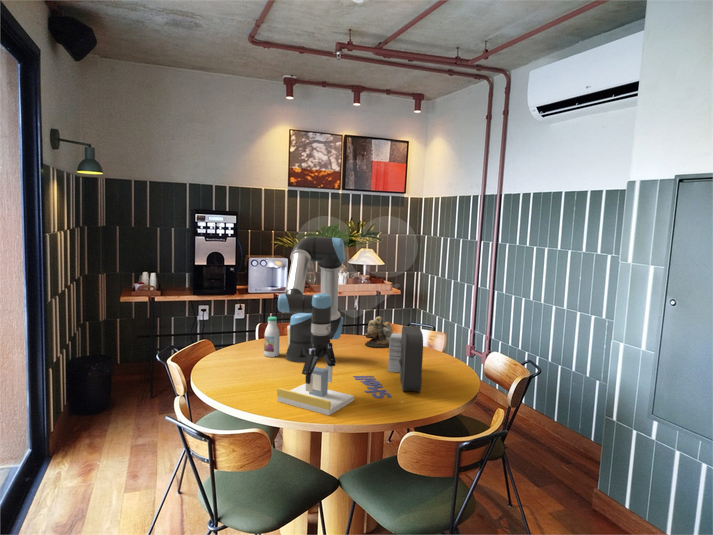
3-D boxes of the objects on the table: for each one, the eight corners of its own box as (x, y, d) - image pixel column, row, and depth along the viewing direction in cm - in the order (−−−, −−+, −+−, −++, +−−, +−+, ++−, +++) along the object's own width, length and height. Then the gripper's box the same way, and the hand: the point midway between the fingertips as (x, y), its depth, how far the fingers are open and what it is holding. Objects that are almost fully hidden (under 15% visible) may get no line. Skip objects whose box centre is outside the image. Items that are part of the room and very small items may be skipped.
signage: (393, 396, 197) (369, 398, 194) (393, 398, 197) (369, 399, 194) (373, 374, 224) (352, 375, 221) (373, 376, 224) (352, 377, 221)
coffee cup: (296, 350, 262) (297, 328, 260) (283, 347, 266) (283, 326, 265) (307, 347, 269) (307, 326, 268) (293, 344, 274) (294, 323, 273)
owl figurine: (367, 349, 271) (368, 319, 269) (360, 344, 282) (361, 315, 281) (397, 347, 276) (398, 318, 275) (389, 342, 287) (390, 314, 286)
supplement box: (407, 373, 229) (408, 338, 227) (387, 371, 231) (389, 337, 229) (409, 367, 238) (410, 334, 237) (390, 366, 240) (391, 332, 239)
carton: (308, 394, 191) (309, 369, 190) (314, 391, 195) (315, 366, 194) (321, 397, 188) (322, 372, 187) (327, 394, 192) (328, 369, 191)
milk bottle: (273, 352, 256) (274, 315, 254) (282, 355, 251) (283, 317, 249) (261, 354, 251) (261, 316, 249) (269, 358, 245) (270, 319, 243)
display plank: (277, 401, 188) (277, 388, 187) (304, 388, 203) (304, 376, 203) (328, 415, 176) (329, 402, 176) (353, 400, 192) (354, 388, 191)
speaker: (420, 395, 200) (423, 336, 198) (399, 394, 200) (402, 335, 198) (415, 376, 225) (417, 323, 222) (396, 375, 225) (399, 322, 223)
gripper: (310, 341, 176) (308, 397, 178) (345, 329, 198) (343, 379, 200) (293, 338, 180) (292, 393, 182) (330, 326, 202) (328, 376, 204)
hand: (319, 386), depth 191 cm, fingers open, 13 cm apart
